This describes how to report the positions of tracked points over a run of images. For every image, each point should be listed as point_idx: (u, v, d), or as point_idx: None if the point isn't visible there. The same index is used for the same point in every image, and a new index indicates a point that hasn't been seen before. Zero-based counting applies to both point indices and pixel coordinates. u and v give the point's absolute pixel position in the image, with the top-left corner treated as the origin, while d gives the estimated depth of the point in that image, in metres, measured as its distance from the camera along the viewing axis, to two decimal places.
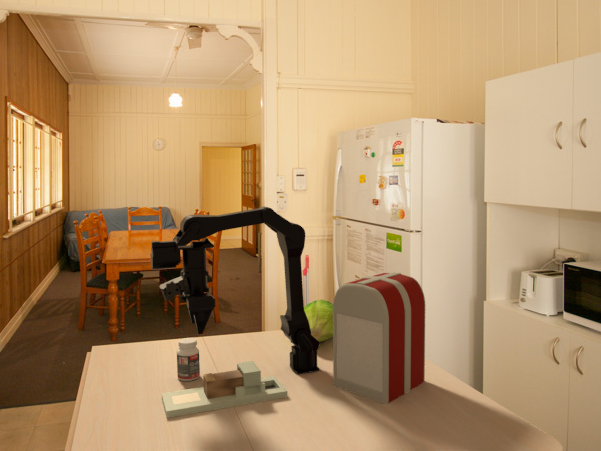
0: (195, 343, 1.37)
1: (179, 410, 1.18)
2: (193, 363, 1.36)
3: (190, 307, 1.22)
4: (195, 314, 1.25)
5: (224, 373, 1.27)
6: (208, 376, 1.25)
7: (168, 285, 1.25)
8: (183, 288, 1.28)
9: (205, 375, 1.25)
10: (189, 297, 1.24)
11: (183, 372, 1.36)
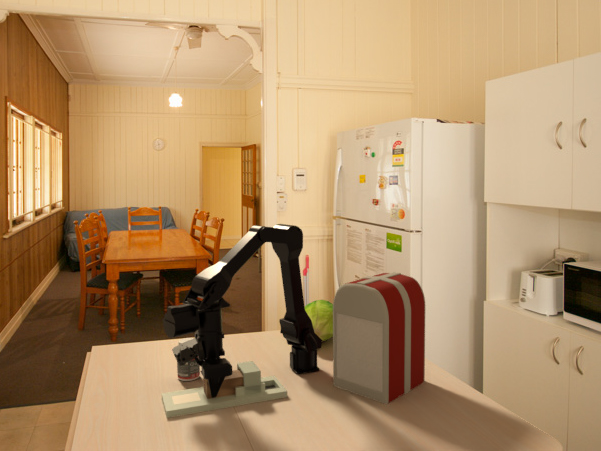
0: None
1: (179, 410, 1.18)
2: (193, 363, 1.36)
3: (206, 376, 1.15)
4: None
5: None
6: None
7: (182, 351, 1.17)
8: (198, 353, 1.20)
9: None
10: (204, 364, 1.17)
11: (183, 372, 1.36)
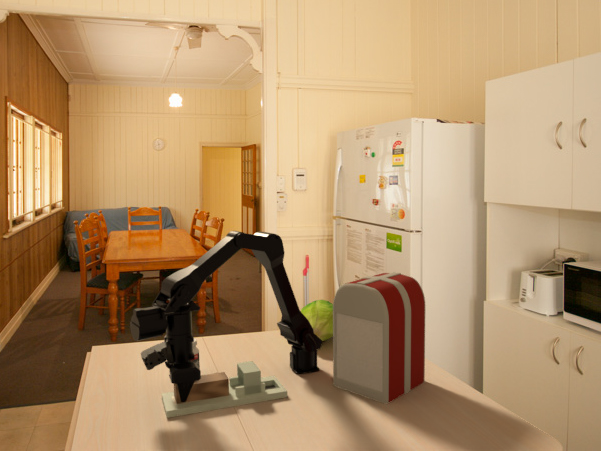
0: (195, 343, 1.37)
1: (179, 410, 1.18)
2: None
3: (173, 381, 1.12)
4: (177, 382, 1.18)
5: None
6: None
7: (149, 355, 1.15)
8: (166, 357, 1.18)
9: None
10: (172, 368, 1.14)
11: None
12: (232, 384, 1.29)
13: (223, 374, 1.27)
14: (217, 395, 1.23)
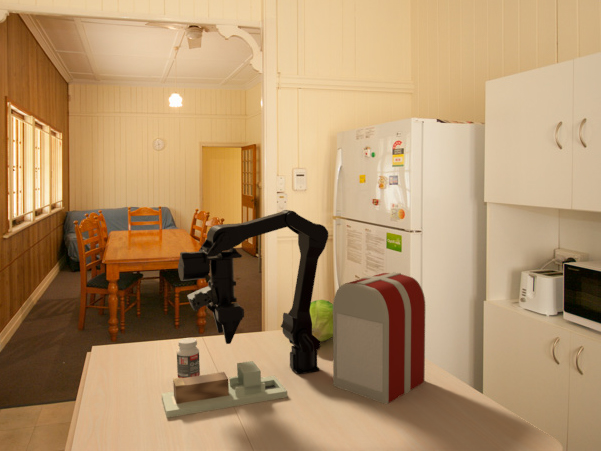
0: (195, 343, 1.37)
1: (179, 410, 1.18)
2: (193, 363, 1.36)
3: (219, 318, 1.23)
4: (224, 324, 1.26)
5: (194, 377, 1.25)
6: (178, 381, 1.22)
7: (197, 295, 1.25)
8: (211, 298, 1.28)
9: (175, 380, 1.23)
10: (218, 307, 1.25)
11: (183, 372, 1.36)
12: (232, 384, 1.29)
13: (222, 374, 1.27)
14: (217, 395, 1.23)
